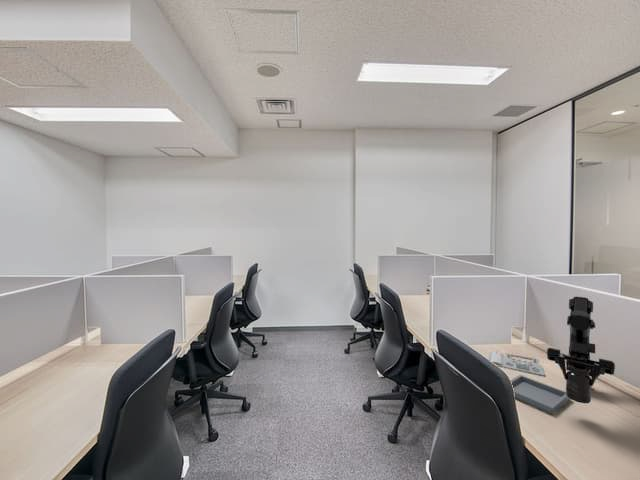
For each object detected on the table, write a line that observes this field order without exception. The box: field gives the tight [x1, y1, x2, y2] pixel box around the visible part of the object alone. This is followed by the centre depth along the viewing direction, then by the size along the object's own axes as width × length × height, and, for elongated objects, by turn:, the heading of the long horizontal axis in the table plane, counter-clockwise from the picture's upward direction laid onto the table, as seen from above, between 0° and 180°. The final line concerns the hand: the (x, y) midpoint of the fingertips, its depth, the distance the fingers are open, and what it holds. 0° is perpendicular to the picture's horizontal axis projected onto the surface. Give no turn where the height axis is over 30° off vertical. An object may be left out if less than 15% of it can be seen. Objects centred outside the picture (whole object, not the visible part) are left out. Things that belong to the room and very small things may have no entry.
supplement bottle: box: [565, 364, 592, 404], centre depth 105 cm, size 7×7×12 cm
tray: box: [510, 374, 571, 416], centre depth 118 cm, size 18×18×3 cm
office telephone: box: [488, 350, 546, 377], centre depth 149 cm, size 23×3×20 cm
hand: (578, 382), depth 104 cm, fingers closed on supplement bottle, 7 cm apart
